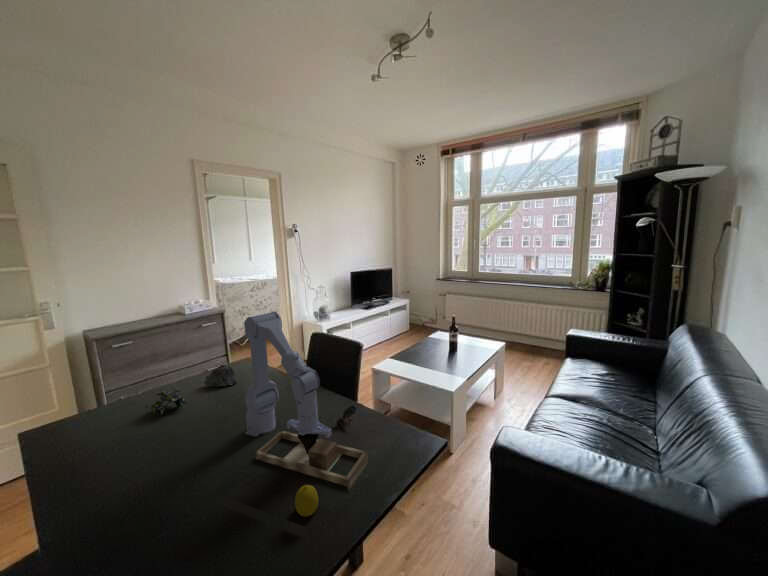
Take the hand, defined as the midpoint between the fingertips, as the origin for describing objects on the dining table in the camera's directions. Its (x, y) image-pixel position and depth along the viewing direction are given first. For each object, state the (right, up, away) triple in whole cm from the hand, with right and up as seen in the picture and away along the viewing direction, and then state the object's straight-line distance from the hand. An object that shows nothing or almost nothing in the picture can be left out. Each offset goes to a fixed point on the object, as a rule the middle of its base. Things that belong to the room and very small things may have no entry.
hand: (310, 453), depth 97 cm
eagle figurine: (+8, 0, +19) cm, 21 cm away
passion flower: (-65, 0, +32) cm, 72 cm away
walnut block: (+4, -2, -1) cm, 5 cm away
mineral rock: (-54, +4, +55) cm, 77 cm away
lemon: (+3, -6, -18) cm, 19 cm away
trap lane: (0, -3, +1) cm, 3 cm away
